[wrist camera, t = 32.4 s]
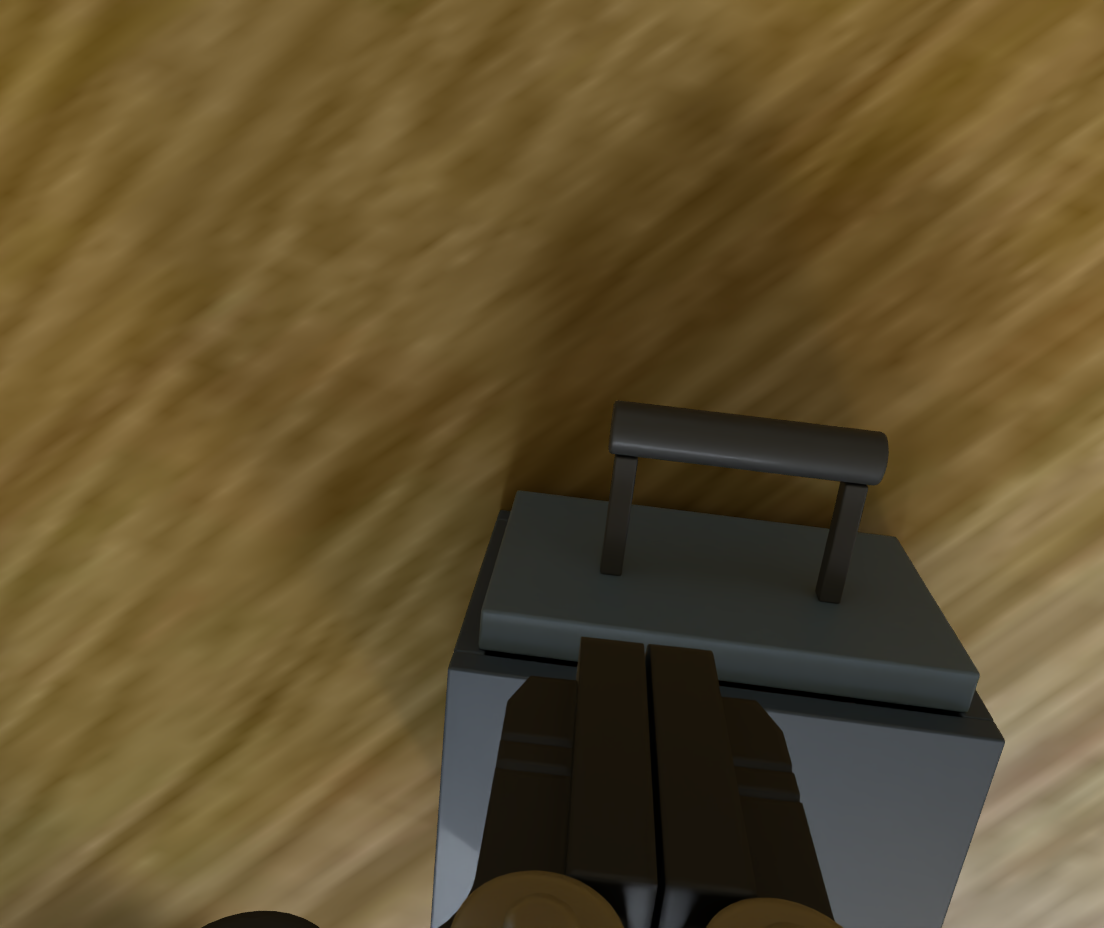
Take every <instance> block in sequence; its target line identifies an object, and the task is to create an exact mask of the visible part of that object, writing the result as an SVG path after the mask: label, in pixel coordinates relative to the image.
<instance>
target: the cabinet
mask: <svg viewBox="0 0 1104 928" xmlns="http://www.w3.org/2000/svg"><path fill="white" fill-rule="evenodd" d="M510 513H511V511H505V510H500V512H499V514H498V517H497V521H496V523H495V526H494V529H493V532H492V535H491V538H490V541H489V544H488V547H487V551H486V554H485V557H484V560H483V563H482V566H481V569H480V572H479V575H478V578H477V581H476V584H475V587H474V590H473V593H472V597H471V600H470V603H469V606H468V609H467V612H466V615H465V618H464V621H463V624H462V627H461V630H460V633H459V636H458V639H457V643H456V646H455V649H454V653H453V655H452V658H451V661H450V664H449V667H448V678H447V692H446V707H445V722H444V737H443V751H442V766H441V781H440V796H439V810H438V825H437V840H436V854H435V869H434V884H433V899H432V913H431V928H438V927H440V926H441V925H442V924H444V923H445V922H446V921H448V920H449V919H450V918H451V917H452V916H453V915H454V914H455V913H456V912H457V911H458V909H459V908H460V906H461V905H462V903H463V902H464V900H465V899H466V898H467V897H468V895H469V893H470V891H471V889H472V886H473V882H474V879H475V875H476V870H477V864H478V859H479V854H480V848H481V843H482V837H483V832H484V826H485V821H486V815H487V810H488V804H489V799H490V793H491V788H492V782H493V777H494V771H495V768H496V760H497V755H498V749H499V744H500V740H501V733H502V727H503V722H504V716H505V711H506V705H507V701H508V700H509V699H510V697H511V696H512V695H513V694H514V693H515V692H516V691H517V690H518V689H519V688H520V687H521V685H522V684H523V683H524V682H525V681H526V680H527V679H528V678H529V677H530V676H531V675H532V676H541V677H550V678H559V679H568V680H576V673H577V667H572V666H565V665H557V664H549V663H542V662H534V661H526V660H519V659H511V658H510V654H511V653H505V652H497V651H489V650H482V649H480V648H479V646H478V644H479V632H480V619H481V610H482V607H483V603H484V600H485V597H486V593H487V590H488V586H489V583H490V580H491V576H492V573H493V570H494V566H495V563H496V560H497V556H498V553H499V550H500V546H501V543H502V539H503V536H504V533H505V529H506V526H507V523H508V519H509V516H510ZM719 687H720V692H721V696H723V697H732V698H741V699H750V700H757V702H758V703H759V704H760V705H761V706H762V707H763V709H764V710H765V711H766V712H767V713H768V715H769V716H770V717H771V718H772V719H773V720H774V722H775V723H776V724H777V725H778V726H779V727H780V729H781V730H782V731H783V733H784V737H785V741H786V744H787V748H788V752H789V755H790V759H791V763H792V773H794V774H795V777H796V781H797V785H798V788H799V792H800V803H803V807H804V810H805V814H806V818H807V822H808V825H809V829H810V833H811V836H812V840H813V844H814V847H815V851H816V855H817V858H818V862H819V866H820V869H821V873H822V877H823V880H824V884H825V888H826V891H827V895H828V899H829V902H830V906H831V910H832V913H833V917H834V920H835V922H836V923H838V924H839V925H841V926H842V927H843V928H941V927H942V924H943V921H944V919H945V916H946V913H947V910H948V907H949V904H950V901H951V898H952V895H953V892H954V889H955V886H956V884H957V881H958V878H959V875H960V872H961V869H962V866H963V863H964V860H965V857H966V854H967V851H968V849H969V846H970V843H971V840H972V837H973V834H974V831H975V828H976V825H977V822H978V819H979V817H980V814H981V811H982V808H983V805H984V802H985V799H986V796H987V793H988V790H989V787H990V784H991V782H992V779H993V776H994V773H995V770H996V767H997V764H998V761H999V758H1000V755H1001V752H1002V750H1003V747H1004V744H1005V740H1004V738H1003V736H1002V734H1001V733H1000V731H999V729H998V728H997V726H996V724H995V723H994V722H993V718H992V717H991V715H990V713H989V712H988V710H987V708H986V706H985V705H984V703H983V701H982V700H981V698H980V696H979V695H978V693H977V691H976V689H975V692H974V695H973V698H972V702H971V705H970V708H969V711H968V712H957V711H949V710H942V709H934V708H926V707H919V706H911V705H905V706H906V708H907V710H901V709H894V708H886V707H878V706H871V705H863V704H855V703H848V702H840V701H832V700H825V699H817V698H809V697H802V696H794V695H787V694H779V693H771V692H764V691H756V690H748V689H741V688H733V687H725V686H719Z"/></svg>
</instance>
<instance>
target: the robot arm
mask: <svg viewBox="0 0 1104 928" xmlns="http://www.w3.org/2000/svg"><path fill="white" fill-rule="evenodd" d="M202 928H319V927H318V926H317V925H315V924H313V923H311V922H310V921H308V920H306V919H304V918H301V917H298V916H295V915H292V914H289V913H283V912H277V911H254V912H245V913H240V914H236V915H232V916H228V917H225V918H222V919H219V920H217V921H214V922H212V923H209V924H207V925H206V926H204V927H202ZM438 928H843V927H842V926H841V925H839V924H838V923H836V922H835V920H834V917H833V913H832V910H831V906H830V902H829V899H828V895H827V891H826V888H825V884H824V880H823V877H822V873H821V869H820V866H819V862H818V858H817V855H816V851H815V847H814V844H813V840H812V836H811V833H810V829H809V825H808V822H807V818H806V814H805V810H804V807H803V803H800V792H799V788H798V785H797V781H796V777H795V774H794V773H792V763H791V759H790V755H789V752H788V748H787V744H786V741H785V737H784V733H783V731H782V730H781V729H780V727H779V726H778V725H777V724H776V723H775V722H774V720H773V719H772V718H771V717H770V716H769V715H768V713H767V712H766V711H765V710H764V709H763V707H762V706H761V705H760V704H759V703H758V702H757V700H750V699H741V698H732V697H723V696H721V692H720V687H719V681H718V676H717V670H716V665H715V659H714V655H713V652H712V651H710V650H701V649H692V648H683V647H674V646H665V645H656V644H648V645H647V648H646V653H645V649H644V644H643V643H636V642H627V641H618V640H609V639H600V638H591V637H581V640H580V648H579V656H578V664H577V673H576V680H568V679H559V678H550V677H541V676H532V675H531V676H530V677H529V678H528V679H527V680H526V681H525V682H524V683H523V684H522V685H521V687H520V688H519V689H518V690H517V691H516V692H515V693H514V694H513V695H512V696H511V697H510V699H509V700H508V701H507V705H506V711H505V716H504V722H503V727H502V733H501V740H500V744H499V749H498V755H497V760H496V768H495V771H494V777H493V782H492V788H491V793H490V799H489V804H488V810H487V815H486V821H485V826H484V832H483V837H482V843H481V848H480V854H479V859H478V864H477V870H476V875H475V879H474V882H473V886H472V889H471V891H470V893H469V895H468V897H467V898H466V899H465V900H464V902H463V903H462V905H461V906H460V908H459V909H458V911H457V912H456V913H455V914H454V915H453V916H452V917H451V918H450V919H449V920H448V921H446V922H445V923H444V924H442V925H441V926H440V927H438Z"/></svg>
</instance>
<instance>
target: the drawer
mask: <svg viewBox="0 0 1104 928" xmlns="http://www.w3.org/2000/svg"><path fill="white" fill-rule="evenodd" d="M608 450H609V452H610V453H611V454H615V459H614V466H613V474H612V481H611V489H610V496H609V502H608V501H600V500H592V499H584V498H576V497H568V496H560V495H552V494H544V493H536V492H527V491H517V493H516V496H515V499H514V502H513V506H512V509H511V513H510V516H509V519H508V523H507V526H506V529H505V533H504V536H503V539H502V543H501V546H500V550H499V553H498V556H497V560H496V563H495V566H494V570H493V573H492V576H491V580H490V583H489V586H488V590H487V593H486V597H485V600H484V603H483V607H482V610H481V619H480V632H479V644H478V646H479V648H480V649H482V650H489V651H497V652H505V653H511V654H510V658H511V659H519V660H526V661H534V662H542V663H546V658H551V659H558V660H566V661H574V662H578V656H579V648H580V640H581V637H591V638H600V639H609V640H618V641H627V642H636V643H643V644H644V649H645V653H646V648H647V645H648V644H656V645H665V646H674V647H683V648H692V649H701V650H710V651H712V652H713V655H714V659H715V665H716V670H717V676H718V680H719V681H727V682H735V683H742V684H750V685H758V686H765V687H773V688H781V689H788V690H796V691H804V692H811V693H819V694H827V695H834V696H842V697H850V698H853V699H854V702H855V704H863V705H871V706H878V707H886V708H894V709H901V710H907V708H906V706H905V705H911V706H919V707H926V708H934V709H942V710H949V711H957V712H968V711H969V708H970V705H971V702H972V698H973V695H974V692H975V689H976V686H977V683H978V680H979V676H980V675H979V672H978V670H977V668H976V667H975V665H974V664H973V662H972V660H971V659H970V657H969V655H968V654H967V652H966V650H965V649H964V647H963V646H962V644H961V642H960V641H959V639H958V637H957V636H956V634H955V632H954V631H953V629H952V628H951V626H950V624H949V623H948V621H947V619H946V618H945V616H944V614H943V613H942V611H941V610H940V608H939V606H938V605H937V603H936V601H935V600H934V598H933V596H932V595H931V593H930V592H929V590H928V588H927V587H926V585H925V583H924V582H923V580H922V578H921V577H920V575H919V574H918V572H917V570H916V569H915V567H914V565H913V564H912V562H911V560H910V559H909V557H908V556H907V554H906V552H905V551H904V549H903V547H902V546H901V544H900V542H899V541H898V539H897V538H896V537H892V536H884V535H876V534H868V533H859V532H858V528H859V524H860V520H861V516H862V512H863V508H864V504H865V500H866V496H867V492H868V486H867V485H877V484H879V483H880V482H881V480H882V478H883V476H884V474H885V471H886V467H887V463H888V454H889V448H888V440H887V437H886V435H885V434H884V433H882V432H879V431H870V430H862V429H854V428H845V427H837V426H828V425H820V424H812V423H803V422H795V421H787V420H778V419H770V418H761V417H753V416H745V415H736V414H728V413H719V412H711V411H703V410H694V409H686V408H677V407H669V406H661V405H652V404H644V403H636V402H627V401H619V400H618V401H615V403H614V407H613V414H612V421H611V429H610V438H609V448H608ZM638 457H644V458H652V459H660V460H668V461H676V462H685V463H693V464H701V465H709V466H718V467H726V468H734V469H742V470H751V471H759V472H767V473H775V474H784V475H792V476H800V477H808V478H816V479H825V480H833V481H841V482H840V486H839V490H838V495H837V499H836V503H835V508H834V512H833V516H832V521H831V525H830V529H827V528H819V527H811V526H803V525H795V524H787V523H778V522H770V521H762V520H754V519H746V518H738V517H730V516H722V515H714V514H706V513H698V512H689V511H681V510H673V509H665V508H657V507H649V506H641V505H633V504H632V498H633V491H634V484H635V477H636V471H637V464H638Z"/></svg>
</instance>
